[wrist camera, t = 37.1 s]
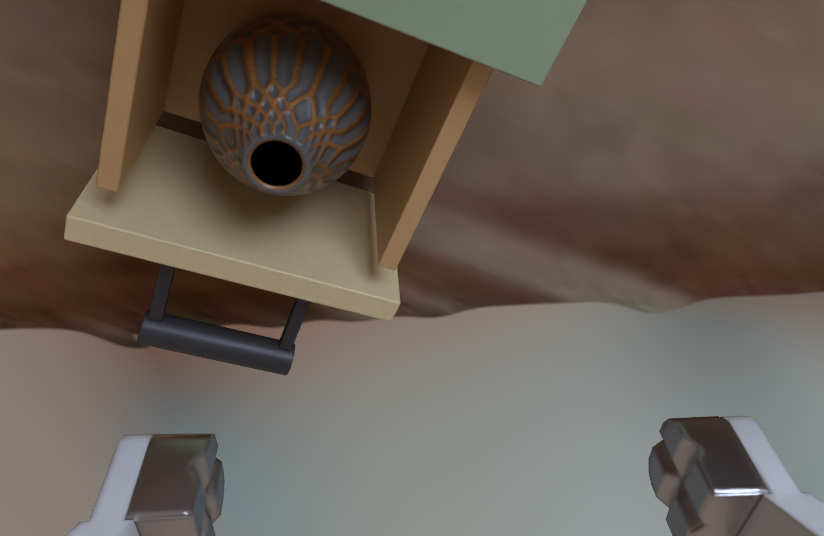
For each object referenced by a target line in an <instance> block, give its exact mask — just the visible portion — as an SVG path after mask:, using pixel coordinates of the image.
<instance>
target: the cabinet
mask: <svg viewBox="0 0 824 536" xmlns="http://www.w3.org/2000/svg"><path fill="white" fill-rule="evenodd" d="M320 1H323V2H325V3H328V4H330V5H333V6H335V7H338V8H340V9H343V10H345V11H348V12H350V13H353V14H356V15H358V16H361V17H363V18H366V19H368V20H371V21H373V22H376V23H378V24H381V25H384V26H386V27H389V28H391V29H394V30H396V31H399V32H401V33H404V34H406V35H409V36H412V37H414V38H417V39H419V40H422V41H424V42H427V43H429V44H432V45H434V46H437V47H439V48H442V49H445V50H447V51H450V52H452V53H455V54H457V55H460V56H462V57H465V58H467V59H470V60H473V61H475V62H478V63H480V64H483V65H485V66H488V67H490V68H493V69H495V70H498V71H501V72H503V73H506V74H508V75H511V76H513V77H516V78H518V79H521V80H523V81H526V82H528V83H531V84H534V85H536V86H541V85H542V83H543V81H544V79H545V78H546V76H547V74H548V72H549V70H550V68H551V66H552V65H553V63H554V61H555V59H556V57H557V55H558V53H559V52H560V50H561V48H562V46H563V44H564V42H565V40H566V39H567V37H568V35H569V33H570V31H571V29H572V27H573V26H574V24H575V22H576V20H577V18H578V16H579V14H580V13H581V11H582V9H583V7H584V5H585V3H586V1H587V0H320Z"/></svg>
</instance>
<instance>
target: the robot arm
mask: <svg viewBox="0 0 824 536" xmlns="http://www.w3.org/2000/svg"><path fill="white" fill-rule="evenodd" d="M659 432H660V434H661V436H662V438H663V440H662V441H661V442H659V443H658V444H656V445H655V446H654V447H653V448H652V451H651V454H650V457H649V476H650V480H651V485H652V487H653V490H654V492H655V495H656V497H657V498H658V499H659V500H660V501H662V502H663V503H664V504H665V505H666V506H668V507H669V511H668V514H667V518H666V521H667V523H668V526H669V528H670V530H671V533H672V535H673V536H824V503H823V502H822V501H820V500H819V499H817V498H816V497H814V496H813V495H812V494H810V493H801V492H800V491H799V489H798V487H797V486H796V484H795V483H794V481H793V479H792V478H791V476H790V475H789V473H788V472H787V470H786V468H785V467H784V465H783V464H782V462H781V461H780V459H779V457H778V456H777V454H776V453H775V451H774V450H773V448H772V446H771V445H770V444H769V442H768V440H767V439H766V437H765V435H764V434H763V432H762V431H761V429H760V428H759V426H758V424H757V423H756V421H755V420H753V419H752V418H751V417H749V416H733V417H718V416H716V417H715V416H714V417H692V418H671V419H668V420H666V421H665V422H664V423H663V424H662V427H661V429H660V431H659ZM217 448H218V444H217V440H216V437H215V434H134V435H124V436H123V437H122V438H121V440H120V441H119V442H118V444H117V446H116V449H115V452H114V455H113V457H112V460H111V463H110V465H109V468H108V471H107V474H106V476H105V479H104V482H103V484H102V487H101V491H100V493H99V495H98V498H97V501H96V503H95V506H94V509H93V512H92V514H91V517H90V520H89V521H87V522H79V523H78V524H77V525H76V526H75V527H74V528H73V529H72V530H71V531H70V532H69V533H67V534H66V535H65V536H215V533H214V529H213V525H212V524H213V523H214V522H215V521H216V519H217V518H218V517H219V516H220V515H221V510H222V504H223V497H224V471H223V466H222V462H221V461H220V460H219V459H217V458H216V453H217Z"/></svg>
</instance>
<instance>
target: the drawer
mask: <svg viewBox="0 0 824 536" xmlns="http://www.w3.org/2000/svg"><path fill="white" fill-rule="evenodd" d="M270 14H295V15H300V16H305V17H308V18H311V19H314V20H316V21H318V22H320V23H322V24H324V25H326V26H328V27H329V28H331V29H332V30H333V31H335V32H336V33H337V34H338V35H340V36H341V37H342V38H343V39H344V40H345V41H346V42H347V44H348V45H349V46H350V47H351V48H352V50H353V51H354V52H355V54H356V55H357V57H358V59H359V60H360V62H361V64H362V66H363V69H364V71H365V74H366V77H367V81H368V84H369V89H370V96H371V121H370V127H369V131H368V135H367V138H366V141H365V143H364V145H363V147H362V149H361V151H360V153H359V155H358V157H357V158H356V160H355V161H354V162H353V164H352V165H351V166H350V167H349V169H348V170H351V171H354V172H357V173H360V174H363V175H366V176H370V177H373V182H374V193H372V192H368V191H365V190H362V189H359V188H356V187H352V186H349V185H346V184H343V183H339V182H336V181H334V182H333V183H331V184H330V185H328V186H326V187H324V188H322V189H320V190H318V191H315V192H312V193H309V194H304V195H298V196H277V195H271V194H267V193H263V192H260V191H258V190H255V189H253V188H251V187H249V186H247V185H245V184H243V183H242V182H240V181H239V180H237V179H236V178H235V177H233V176H232V175H231V174H230V173H229V172H228V171H227V170H226V169H225V168H224V167H223V166H222V165H221V164H220V162H219V161H218V160H217V158H216V157H215V155H214V154H213V152H212V150H211V149H210V146H209V144H208V142H207V141H205V140H201V139H198V138H195V137H192V136H189V135H185V134H182V133H179V132H176V131H172V130H169V129H166V128H163V127H160V126H156V123H157V121H158V120H159V118H160V116H161V114H162V113H163V111H166V112H169V113H172V114H175V115H178V116H181V117H184V118H188V119H191V120H194V121H197V122H200V123H201V119H200V111H199V92H200V85H201V80H202V77H203V74H204V71H205V68H206V66H207V63H208V61H209V60H210V58H211V56H212V54H213V53H214V51H215V50H216V48H217V47H218V46H219V44H220V43H221V42H222V41H223V40H224V39H225V38H226V37H227V35H228V34H230V33H231V32H232V31H233V30H234V29H236V28H237V27H239V26H240V25H242V24H244V23H246V22H248V21H250V20H253V19H255V18H258V17H261V16H265V15H270ZM492 70H493V68H490V67H488V66H485V65H483V64H480V63H478V62H475V61H473V60H470V59H467V58H465V57H462V56H460V55H457V54H455V53H452V52H450V51H447V50H445V49H442V48H439V47H437V46H434V45H432V44H429V43H427V42H424V41H422V40H419V39H417V38H414V37H412V36H409V35H406V34H404V33H401V32H399V31H396V30H394V29H391V28H389V27H386V26H384V25H381V24H378V23H376V22H373V21H371V20H368V19H366V18H363V17H361V16H358V15H356V14H353V13H350V12H348V11H345V10H343V9H340V8H338V7H335V6H333V5H330V4H328V3H325V2H323V1H320V0H121V4H120V11H119V19H118V26H117V33H116V40H115V48H114V55H113V62H112V70H111V77H110V84H109V92H108V99H107V106H106V113H105V121H104V128H103V135H102V143H101V150H100V157H99V165H98V168H97V170H96V171H95V173H94V174H93V176H92V177H91V179H90V180H89V182H88V184H87V185H86V187H85V188H84V190H83V191H82V193H81V194H80V196H79V197H78V199H77V200H76V202H75V203H74V205H73V207H72V208H71V210H70V211H69V213H68V214H67V216H66V224H65V233H64V239H65V240H68V241H72V242H76V243H80V244H84V245H88V246H92V247H96V248H100V249H104V250H108V251H112V252H116V253H120V254H124V255H128V256H132V257H136V258H140V259H144V260H148V261H152V262H156V263H160V266H159V271H158V275H157V280H156V285H155V289H154V294H153V298H152V303H151V307H150V310H147V311H146V313H145V315H144V318H143V321H142V324H141V327H140V331H139V335H138V339H137V343H138V344H143V345H147V346H152V347H157V348H161V349H166V350H171V351H175V352H180V353H185V354H189V355H194V356H198V357H203V358H208V359H212V360H217V361H222V362H227V363H231V364H236V365H240V366H245V367H250V368H254V369H259V370H264V371H268V372H273V373H278V374H282V375H287V374H288V372H289V370H290V368H291V364H292V361H293V357H294V351H295V344H294V341H295V339H296V336H297V334H298V331H299V329H300V326H301V324H302V322H303V319H304V317H305V314H306V312H307V309H308V307H309V304H310V302H314V303H318V304H322V305H326V306H330V307H334V308H338V309H342V310H346V311H350V312H354V313H358V314H362V315H366V316H370V317H374V318H378V319H382V320H386V321H392V319H393V317H394V315H395V313H396V311H397V309H398V307H399V305H400V294H399V284H398V273H397V266H398V264H399V262H400V260H401V258H402V256H403V254H404V252H405V250H406V248H407V245H408V243H409V241H410V239H411V237H412V235H413V233H414V231H415V229H416V227H417V225H418V223H419V221H420V219H421V217H422V215H423V213H424V210H425V208H426V206H427V204H428V202H429V200H430V198H431V196H432V194H433V192H434V190H435V188H436V186H437V184H438V182H439V180H440V178H441V175H442V173H443V171H444V169H445V167H446V165H447V163H448V161H449V159H450V157H451V155H452V153H453V151H454V149H455V147H456V145H457V143H458V140H459V138H460V136H461V134H462V132H463V130H464V128H465V126H466V124H467V122H468V120H469V118H470V116H471V114H472V112H473V110H474V108H475V105H476V103H477V101H478V99H479V97H480V95H481V93H482V91H483V89H484V87H485V85H486V83H487V81H488V79H489V77H490V75H491V73H492ZM175 267H176V268H180V269H183V270H187V271H191V272H195V273H199V274H203V275H207V276H211V277H215V278H219V279H223V280H227V281H231V282H235V283H239V284H243V285H247V286H251V287H255V288H259V289H263V290H267V291H271V292H275V293H279V294H283V295H287V296H291V297H295V298H296V299H295V302H294V305H293V307H292V310H291V312H290V315H289V318H288V320H287V323H286V325H285V328H284V331H283V333H282V336H281V338H280V340H278V339H273V338H269V337H265V336H260V335H256V334H251V333H247V332H243V331H238V330H234V329H230V328H226V327H221V326H217V325H213V324H208V323H204V322H200V321H195V320H191V319H187V318H182V317H178V316H174V315H169V314H165V309H166V305H167V301H168V297H169V292H170V288H171V284H172V280H173V276H174V271H175Z"/></svg>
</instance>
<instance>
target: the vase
mask: <svg viewBox="0 0 824 536" xmlns="http://www.w3.org/2000/svg"><path fill="white" fill-rule="evenodd" d="M199 111H200V119H201V124H202V128H203V131H204V135H205V137H206V140H207V142H208V144H209V146H210V149H211V150H212V152H213V154H214V155H215V157H216V158H217V160H218V161H219V162H220V164H221V165H222V166H223V167H224V168H225V169H226V170H227V171H228V172H229V173H230V174H231V175H232V176H233V177H235V178H236V179H237V180H239V181H240V182H242V183H243V184H245V185H247V186H249V187H251V188H253V189H255V190H258V191H260V192H263V193H267V194H271V195H277V196H298V195H304V194H309V193H312V192H315V191H318V190H320V189H322V188H324V187H326V186H328V185H330V184H331V183H333V182H334V181H336V180H337V179H338V178H339V177H341V176H342V175H343V174H344V173H345V172H346V171H347V170H348V169H349V167H350V166H351V165H352V164H353V162H354V161H355V160H356V158H357V157H358V155H359V153H360V151H361V149H362V147H363V145H364V143H365V141H366V138H367V135H368V131H369V127H370V121H371V96H370V89H369V84H368V81H367V77H366V74H365V71H364V69H363V66H362V64H361V62H360V60H359V59H358V57H357V55H356V54H355V52H354V51H353V50H352V48H351V47H350V46H349V45H348V44H347V42H346V41H345V40H344V39H343V38H342V37H341V36H340V35H338V34H337V33H336V32H335V31H333V30H332V29H331V28H329V27H328V26H326V25H324V24H322V23H320V22H318V21H316V20H314V19H311V18H308V17H305V16H300V15H295V14H270V15H265V16H261V17H258V18H255V19H253V20H250V21H248V22H246V23H244V24H242V25H240V26H239V27H237V28H236V29H234V30H233V31H232V32H231V33H230V34H228V35H227V37H226V38H225V39H224V40H223V41H222V42H221V43H220V44H219V46H218V47H217V48H216V50H215V51H214V53H213V54H212V56H211V58H210V60H209V61H208V63H207V66H206V68H205V71H204V74H203V77H202V80H201V85H200V92H199Z"/></svg>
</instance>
